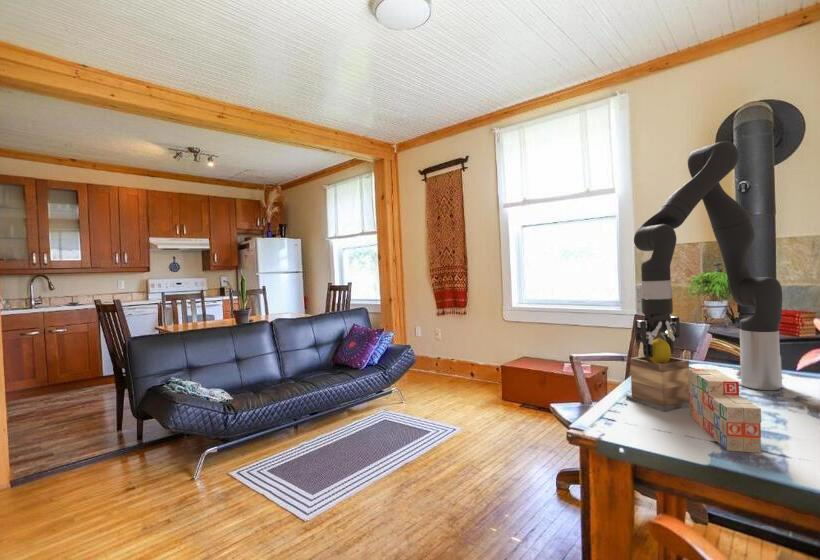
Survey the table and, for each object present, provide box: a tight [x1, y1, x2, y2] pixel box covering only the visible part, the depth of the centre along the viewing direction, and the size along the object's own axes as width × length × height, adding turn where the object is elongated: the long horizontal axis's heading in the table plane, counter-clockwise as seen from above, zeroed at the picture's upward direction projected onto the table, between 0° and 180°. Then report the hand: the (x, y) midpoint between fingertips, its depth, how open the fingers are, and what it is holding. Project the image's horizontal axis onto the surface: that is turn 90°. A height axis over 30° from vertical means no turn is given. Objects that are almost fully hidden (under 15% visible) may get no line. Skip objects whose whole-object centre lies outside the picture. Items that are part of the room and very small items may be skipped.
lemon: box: [650, 337, 672, 364], centre depth 117 cm, size 6×6×8 cm
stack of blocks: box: [688, 368, 762, 454], centre depth 95 cm, size 21×6×12 cm, turn 164°
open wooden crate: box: [625, 355, 690, 412], centre depth 118 cm, size 12×12×12 cm
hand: (658, 355), depth 117 cm, fingers open, 7 cm apart
